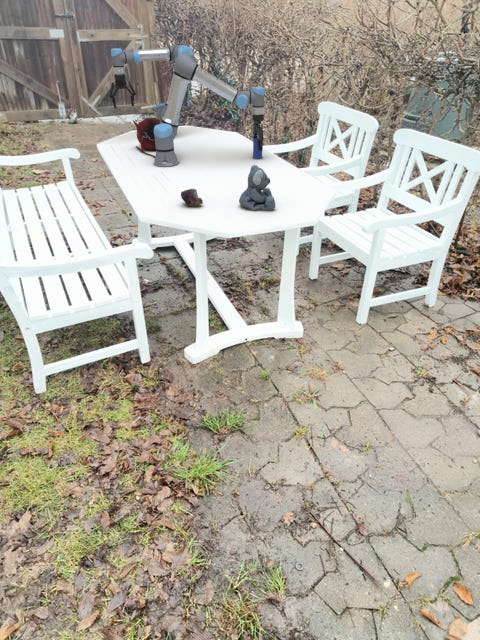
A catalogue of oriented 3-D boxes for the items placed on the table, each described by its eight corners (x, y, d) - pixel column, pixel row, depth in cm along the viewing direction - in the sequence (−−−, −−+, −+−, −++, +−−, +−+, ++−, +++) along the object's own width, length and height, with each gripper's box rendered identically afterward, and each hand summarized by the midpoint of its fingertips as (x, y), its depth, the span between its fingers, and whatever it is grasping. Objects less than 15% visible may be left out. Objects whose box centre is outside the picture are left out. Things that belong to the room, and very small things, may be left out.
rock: (196, 202, 238) (178, 205, 233) (194, 185, 234) (176, 188, 230) (205, 205, 228) (187, 208, 224) (203, 188, 224) (185, 191, 220)
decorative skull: (136, 123, 331) (129, 120, 308) (167, 116, 330) (163, 112, 307) (144, 153, 338) (138, 152, 315) (174, 146, 337) (171, 145, 314)
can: (256, 159, 301) (256, 140, 294) (251, 157, 306) (251, 138, 299) (263, 158, 304) (264, 138, 297) (258, 156, 308) (259, 137, 301)
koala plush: (276, 211, 223) (277, 171, 212) (240, 212, 222) (240, 172, 211) (271, 199, 237) (272, 161, 226) (237, 200, 236) (237, 162, 225)
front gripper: (268, 117, 280) (268, 152, 292) (259, 110, 300) (258, 143, 312) (257, 117, 278) (256, 153, 291) (248, 110, 299) (248, 144, 311)
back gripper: (104, 75, 307) (109, 109, 319) (138, 73, 319) (142, 105, 331) (100, 74, 312) (105, 107, 324) (134, 72, 324) (137, 104, 336)
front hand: (257, 148), depth 301 cm, fingers open, 13 cm apart
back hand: (124, 107), depth 328 cm, fingers open, 13 cm apart
